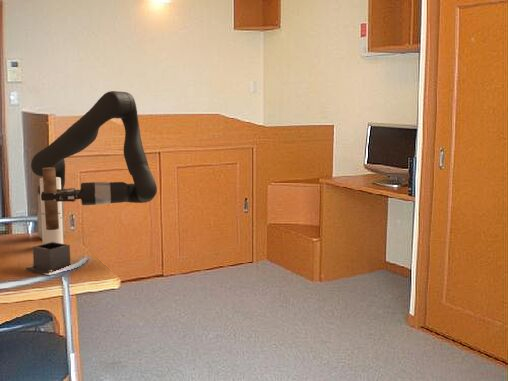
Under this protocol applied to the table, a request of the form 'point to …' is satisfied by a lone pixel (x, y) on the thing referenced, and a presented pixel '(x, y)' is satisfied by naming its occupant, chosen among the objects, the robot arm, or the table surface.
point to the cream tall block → (46, 234)
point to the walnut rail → (50, 205)
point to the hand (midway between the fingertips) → (41, 196)
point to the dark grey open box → (50, 257)
